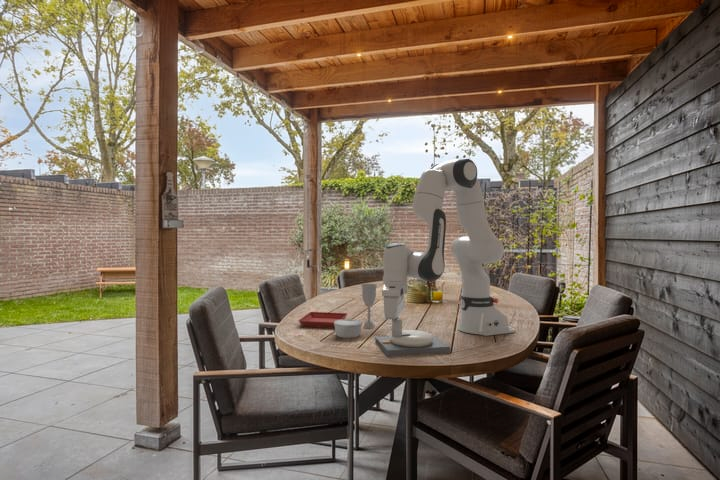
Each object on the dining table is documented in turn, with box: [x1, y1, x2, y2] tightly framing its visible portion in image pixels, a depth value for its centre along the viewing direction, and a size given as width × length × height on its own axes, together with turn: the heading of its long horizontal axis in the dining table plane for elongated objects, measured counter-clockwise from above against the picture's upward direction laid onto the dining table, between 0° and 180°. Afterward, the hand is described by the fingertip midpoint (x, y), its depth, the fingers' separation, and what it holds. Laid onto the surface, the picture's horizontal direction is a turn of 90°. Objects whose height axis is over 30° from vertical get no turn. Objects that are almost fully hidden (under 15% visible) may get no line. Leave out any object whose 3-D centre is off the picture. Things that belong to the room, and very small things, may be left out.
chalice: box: [360, 283, 378, 329], centre depth 175 cm, size 7×7×18 cm
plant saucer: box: [298, 311, 348, 329], centre depth 182 cm, size 18×18×3 cm
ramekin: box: [334, 318, 363, 339], centre depth 162 cm, size 11×11×5 cm
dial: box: [389, 317, 434, 347], centre depth 145 cm, size 15×15×8 cm
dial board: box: [374, 334, 451, 357], centre depth 146 cm, size 22×17×3 cm
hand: (394, 326), depth 147 cm, fingers closed
